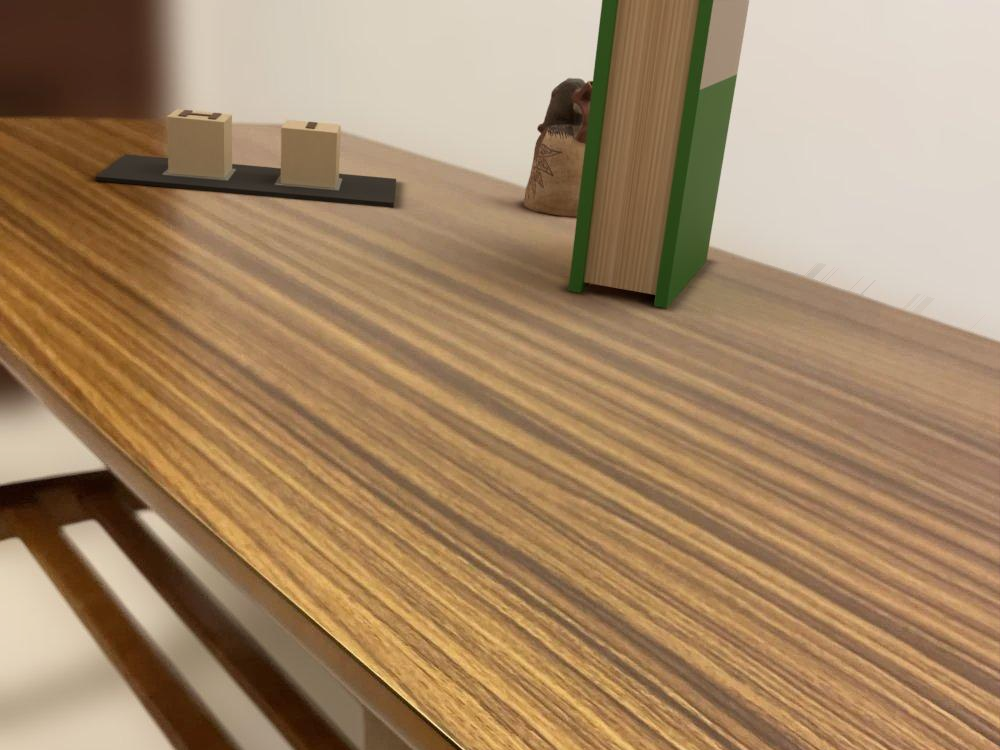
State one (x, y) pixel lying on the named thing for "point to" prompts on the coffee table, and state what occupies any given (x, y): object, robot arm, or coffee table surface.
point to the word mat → (250, 182)
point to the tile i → (310, 153)
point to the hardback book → (655, 142)
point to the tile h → (199, 143)
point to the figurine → (560, 151)
